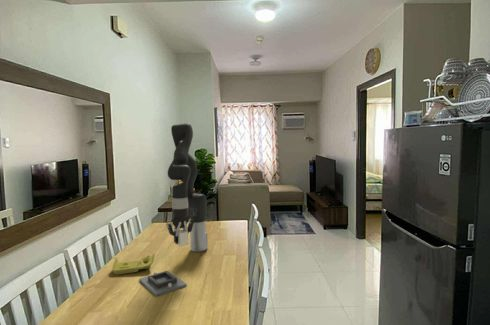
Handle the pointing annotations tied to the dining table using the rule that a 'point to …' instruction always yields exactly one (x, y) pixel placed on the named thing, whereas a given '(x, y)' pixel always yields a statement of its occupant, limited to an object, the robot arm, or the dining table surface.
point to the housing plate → (162, 283)
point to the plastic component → (132, 265)
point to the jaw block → (182, 238)
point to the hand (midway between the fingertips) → (181, 242)
